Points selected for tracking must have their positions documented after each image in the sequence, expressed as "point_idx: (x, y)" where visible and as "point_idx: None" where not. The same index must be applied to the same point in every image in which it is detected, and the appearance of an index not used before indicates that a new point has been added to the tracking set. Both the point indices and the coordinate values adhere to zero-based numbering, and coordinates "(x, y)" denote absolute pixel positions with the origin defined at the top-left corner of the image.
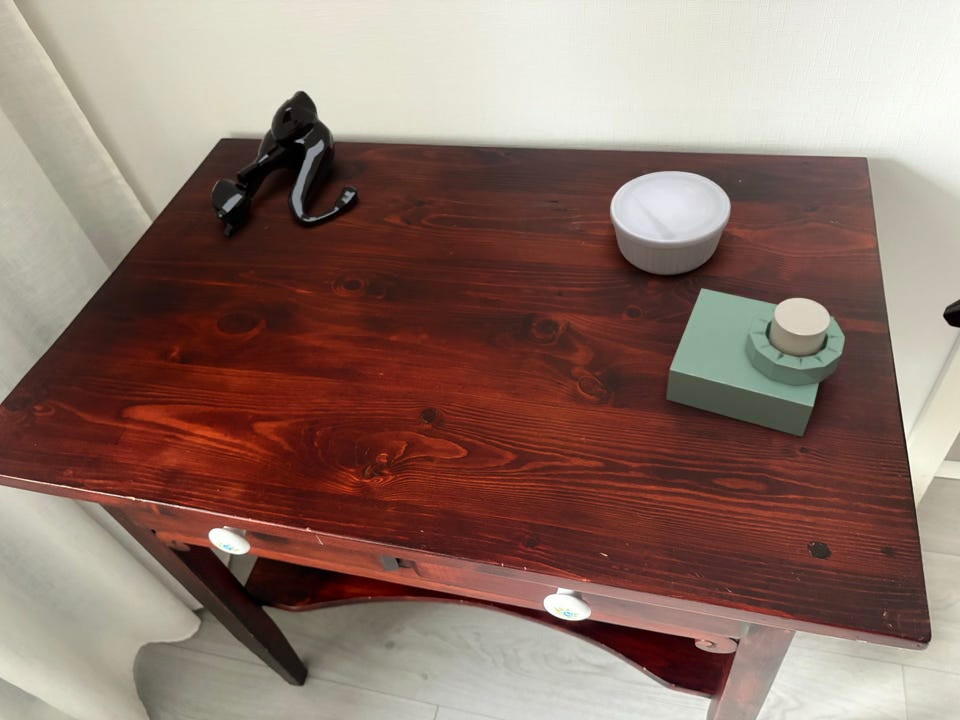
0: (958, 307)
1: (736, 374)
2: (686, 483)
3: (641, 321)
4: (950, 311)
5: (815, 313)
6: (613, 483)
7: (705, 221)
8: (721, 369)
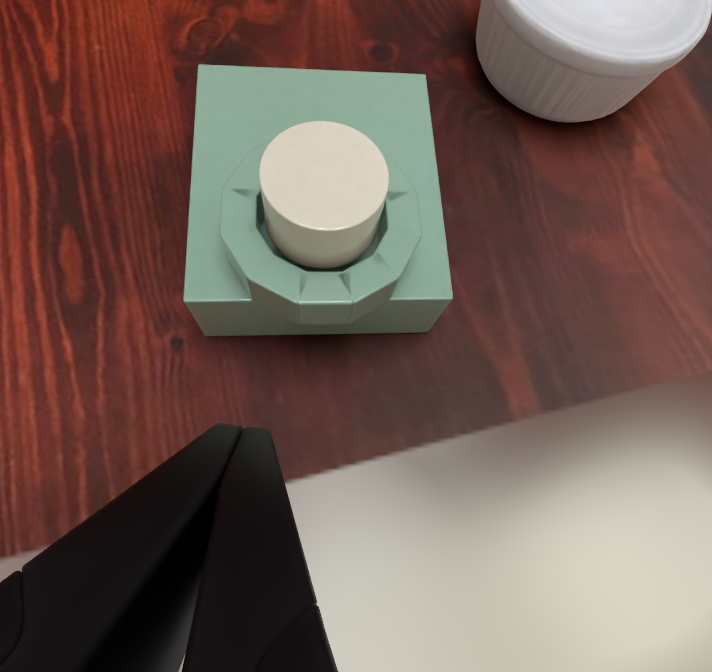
0: (195, 458)
1: (223, 162)
2: (49, 192)
3: (368, 66)
4: (206, 439)
5: (344, 197)
6: (21, 101)
7: (588, 28)
8: (227, 138)
